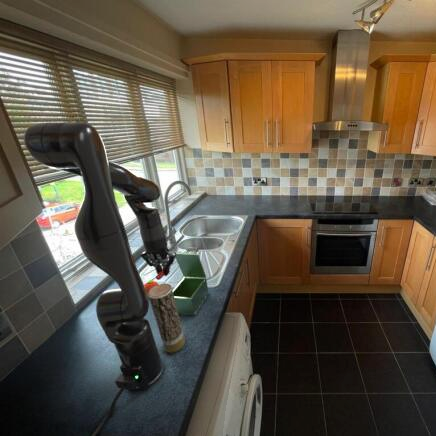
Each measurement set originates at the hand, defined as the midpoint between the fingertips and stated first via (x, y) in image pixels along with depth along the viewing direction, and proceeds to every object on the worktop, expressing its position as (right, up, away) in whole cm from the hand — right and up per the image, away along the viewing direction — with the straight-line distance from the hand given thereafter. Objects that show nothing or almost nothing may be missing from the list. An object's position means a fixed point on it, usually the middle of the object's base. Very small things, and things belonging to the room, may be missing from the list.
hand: (163, 274), depth 93 cm
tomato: (-15, -14, +18) cm, 27 cm away
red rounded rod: (0, 0, 0) cm, 0 cm away
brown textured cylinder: (+8, -24, -7) cm, 27 cm away
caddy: (+5, -16, +12) cm, 21 cm away
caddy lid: (+6, +1, +10) cm, 12 cm away
